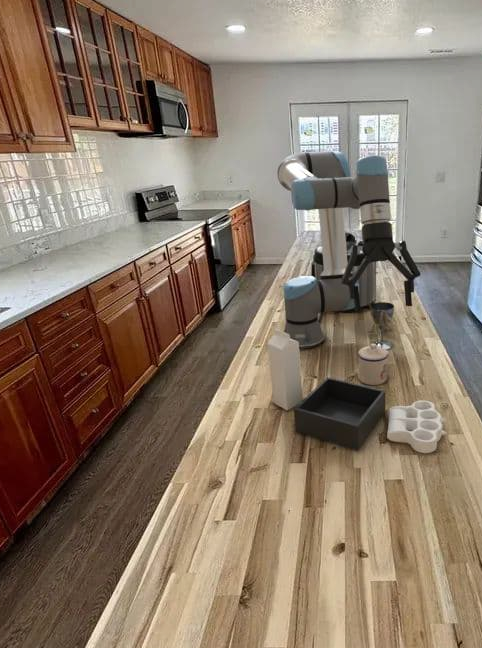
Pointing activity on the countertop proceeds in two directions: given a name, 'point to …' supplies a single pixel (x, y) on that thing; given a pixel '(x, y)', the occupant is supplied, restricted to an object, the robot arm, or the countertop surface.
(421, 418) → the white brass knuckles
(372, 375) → the teacup with lid
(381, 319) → the wine glass
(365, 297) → the pressure cooker
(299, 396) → the milk
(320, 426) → the tray
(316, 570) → the countertop surface
